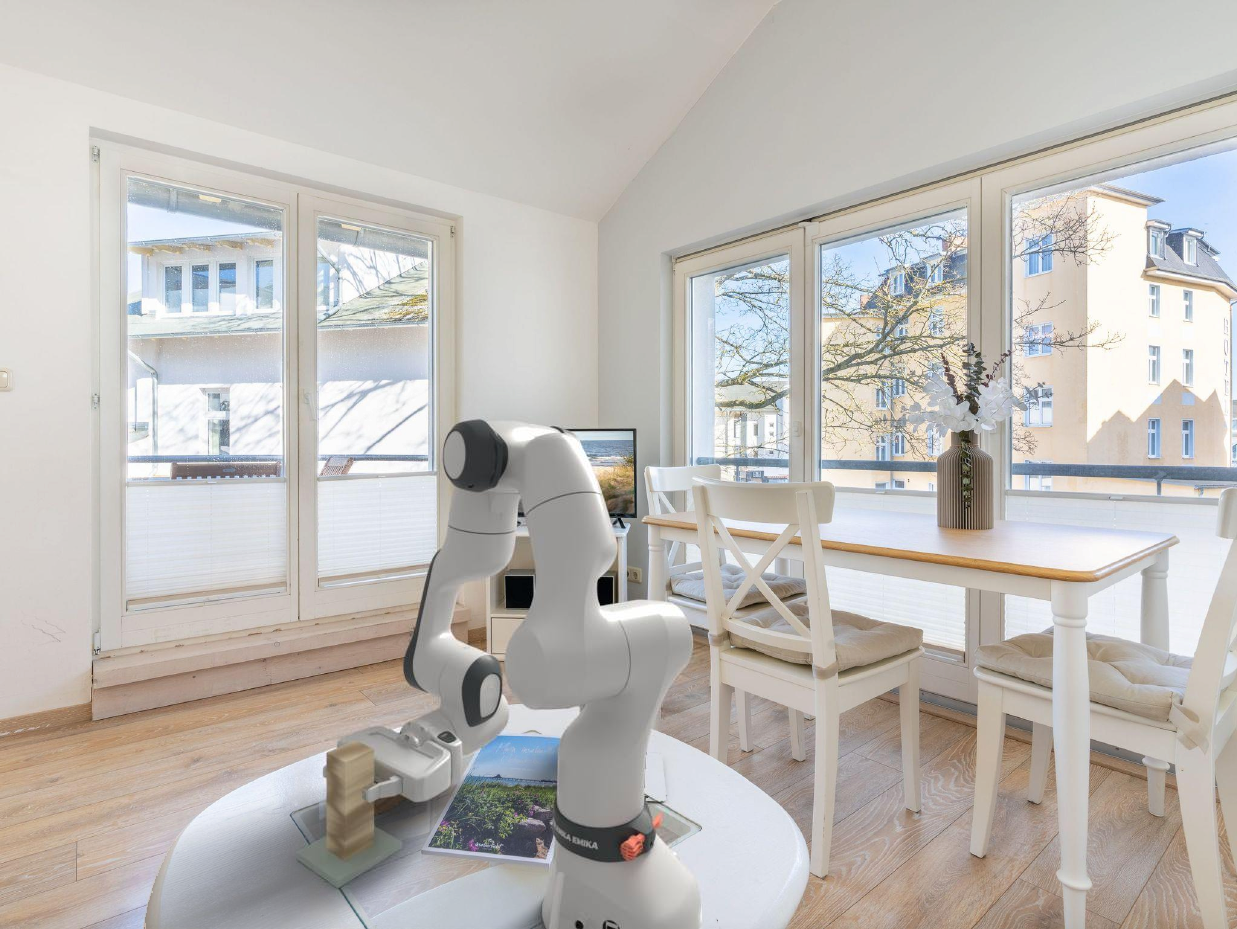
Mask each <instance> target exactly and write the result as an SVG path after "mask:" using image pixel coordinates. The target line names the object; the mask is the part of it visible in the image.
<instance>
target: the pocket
mask: <svg viewBox="0 0 1237 929" xmlns="http://www.w3.org/2000/svg"><path fill="white" fill-rule="evenodd" d="M374 783H376V784H378V783H377V782H376V781H374ZM407 799H408V798H406V797H404V796H402V795H400V794H398V795H396V796H391V797H385V798H379V799H377V800H375V801H374V816H378V815H380V814H382V813H384V812H385V811H387V810H390V809H391V808H393V807H394V806H396V805H398V804H401V803H402V802H403V801H406V800H407Z"/></svg>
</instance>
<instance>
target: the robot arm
mask: <svg viewBox="0 0 1237 929" xmlns="http://www.w3.org/2000/svg"><path fill="white" fill-rule="evenodd" d="M442 465H443V469H444V472H445V476H446V477H447V478H448V480H449V481H450V483H451V484H452V485H453V486H454V489H453V493H452V497H451V501H450V506H449V514H448V522H447V530H446V534H445V538H444V541H443V544H442V546H441V548H440V549H438V550H437V551H436V552H435V554H434V555H433V557H432V559H431V561H430V564H429V566H428V571H427V573H426V578H425V582H424V586H423V589H422V590H423V591H422V593H421V594H422V595H421V600H420V604H419V608H418V613H417V618H416V622H415V627H414V630H413V634H412V637H411V639H410V641H409V644H408V646H407V649H406V651H405V653H404V657H403V662H402V664H403V665H402V666H403V676H404V679H405V681H406V683H408V685H409V686H411V687H412V688H414V689H417V690H419V691H421V692H423V693H427V694H430V695H432V696H434V697H436V698H438V699H439V700H440V704H439V707H438V708H437V709H435V710H431V711H430V712H427V713H425V714H423V715H421V716H418V717H417V718H416V717H415V718H414V719H411V720H409V721H407V722H406V723H404V724H403V725H402V727H401V729H400V731H399V732H397V731H395V730H393V729H391V728H387V727H385V726H382V725H375V726H371V727H367V728H363V729H359V730H357V731H354V732H351V733H348V734H346V735H343V736H341V737H340V738H339V739H338V740H337V743H336V748H338V747H341V746H343V745H345V744H348V743H350V742H352V741H355V740H356V741H358V742H360V743H362V744H364V745H366V746H368V747H370V748H373V749H374V781H376V782H377V783H378V784H376V783H374V782H373V783H371V784H369V785H367V786H365V787H364V788H363V789H362V794H363V795H362V798H363V799H364V800H366V801H367V802H369V803H371V802H373V801H375V800H377V799H379V798H385V797H391V796H396V795H398V794H400V795H402V796H404V797H406V798H407V799H408V800H410V801H412V802H413V803H420V802H427V801H428V800H431V799H432V798H435V797H436V796H438V795H439V794H441V793H443V792H444V791H446V790H447V789H448V788H449V787H450V786H451V787H452V786H455V785H456V786H457V785H458V784H459V783H461V782H462V776H463V757H464V756H468V755H471V754H472V753H474V752H476V751H478V750H480V749H482V748H484V747H485V746H487V745H488V744H489V743H490V742H492V741H494V740H495V739H496V738H497V737H498V736H499V735H500V734H501V733H502V732H503V731H504V730H505V729H506V726H507V725H508V722H509V718H510V706H509V702H508V700H507V698H506V697H505V695H504V694H503V681H504V680H503V670H502V667H501V664H500V661H499V659H497V657H496V656H494V655H491V654H490V653H488V652H485V651H484V650H481V649H479V648H478V647H474V646H471V645H469V644H467V643H465V642H462V641H460V640H458V639H456V637H455V635H453V633H452V630H451V625H452V621H453V617H454V612H455V608H456V605H457V601H458V595H459V591H460V589H461V588H462V586H464V584H466V583H469V582H474V581H475V582H477V581H481V580H485V579H488V578H492V577H493V576H495V575H497V574H499V573H501V572H502V571H503V570H504V569H505V568H506V566H508V564H509V563H510V561H511V560H512V557H513V556H514V555H513V554H514V550H515V546H516V537H517V526H518V513H519V511H518V510H519V502H520V501H521V505H522V510H523V515H524V518H525V522H526V527H527V532H528V535H529V536H528V537H529V540H530V546H531V551H532V556H533V563H534V569H535V586H534V594H533V598H532V601H531V605H530V607H529V610H528V611H527V613H526V615H525V618H524V619H523V620H522V621H521V623H520V625H519V626H518V627H517V628H516V629H515V630H514V631H513V634H512V635H511V637H510V639H509V641H508V643H507V646H506V649H505V653H504V660H503V661H504V662H503V664H504V665H503V666H504V668H503V669H504V675H505V678H506V682H507V684H508V687H509V689H510V691H511V692H512V694H513V695H514V697H515V698H516V699H517V701H519V702H520V703H521V704H522V705H523V706H524V707H526V708H528V709H529V710H533V711H534V710H535V711H537V710H539V711H540V710H566V709H567V710H568V709H571V708H575V707H580V705H583V704H586V703H587V704H586V706H585V707H584V709H583V710H582V712H581V713H580V712H579V714H578V715H577V716H576V717H575V718H574V719H573V720H572V721H571V722H570V723H569V725H568V726H567V727H566V729H565V730H564V732H563V733H562V735H561V737H560V739H559V743H558V747H557V748H558V749H557V775H556V776H557V781H556V782H557V783H556V784H557V785H556V796H555V797H554V801H553V808H552V809H553V810H552V835H553V836H554V847H553V848H554V850H553V857H552V863H551V870H550V876H549V879H548V880H549V881H548V884H547V889H546V892H545V895H544V897H543V902H542V905H541V918H542V922H543V925H544V927H545V929H701V925H702V908H701V905H702V902H701V901H702V900H701V894H700V893H701V892H700V889H699V885H698V882H697V879H696V877H695V876H694V875H693V874H692V872H691V871H690V870H689V869H688V868H687V866H686V865H684V864H683V862H682V861H681V860H680V857H679V856H678V854H677V853H676V852H675V851H673V850H671V848H669V847H668V845H667V844H666V843H665V841H664V840H663V839H661V837H660V836H659V835H658V834H657V829H658V827H660V826H661V824H662V823H663V819H662V818H663V813H662V812H661V813H659V814H658V815H657V816H656V817H655V818H654V819H653V815H652V813H651V810H650V807H649V803H648V802H647V801H646V798H645V796H644V788H645V769H646V755H647V752H648V746H649V740H650V737H651V732H652V729H653V727H654V726H653V725H654V723H655V720H656V717H657V715H658V712H659V710H660V708H661V705H662V703H663V701H664V699H665V696H666V694H667V692H668V691H669V689H670V687H671V686H672V684H673V683H674V681H675V679H676V678H677V677H678V676H679V675H680V674H681V673H682V672H683V671H684V670H685V669H686V667H687V666H688V665H689V663H690V660H691V658H692V655H693V650H694V649H693V648H694V639H693V638H694V636H693V632H692V627H691V626H690V623H689V621H688V618H687V617H686V615H685V614H684V613H683V611H682V610H681V609H680V608H679V607H678V606H677V605H675V604H674V603H671V602H670V601H662V600H655V599H654V600H653V599H634V600H633V599H632V600H627V601H622V602H617V603H610V604H605V605H600V602H599V599H598V598H599V597H598V580H599V579H600V578H601V577H602V576H603V575H605V574H606V572H608V570H610V568H611V567H612V565H613V564H614V563H615V561H616V557H617V555H618V552H619V551H618V550H619V549H618V548H619V547H618V540H617V537H616V534H615V530H614V528H613V523H612V521H611V518H610V513H609V510H608V508H607V504H606V500H605V498H604V495H603V492H602V488H601V486H600V483H599V480H598V477H597V474H596V472H595V470H594V468H593V465H592V464H591V462H590V459H589V458H588V455H587V453H586V452H585V450H584V446H583V445H582V442H581V440H580V439H579V437H578V436H577V435H576V434H575V433H574V432H572V431H570V430H568V429H565V428H562V427H560V426H554V425H551V426H547V425H546V426H545V425H541V424H536V423H530V422H523V421H521V420H486V421H485V420H483V419H481V418H478V419H470V420H465V421H461V422H457V423H456V424H455V425H453V427H452V428H451V429H450V431H449V432H448V434H447V435H446V437H445V440H444V443H443V450H442ZM322 777H323V778H325V779H326V764H325V765H324V766H323V767H322Z"/></svg>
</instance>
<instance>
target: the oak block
mask: <svg viewBox="0 0 1237 929" xmlns="http://www.w3.org/2000/svg"><path fill="white" fill-rule="evenodd" d="M325 754H326V758H325V759H326V761H325V762H326V764H325V765H326V778H325V779H326V781H325V782H326V788H325V790H326V796H325V797H326V800H325V801H326V802H325V803H326V804H325V805H326V811H325V812H326V819H325V820H326V821H325V822H326V823H325V824H326V833H325V834H326V835H325V836H326V847H327V850H329V851H330V852H332V853H333V854H335V855H336V856H338V857H339V858H341V859H342V860H344V861H347V860H349V859H350V858H352V857H354V856H355V855H357V854H359V853H361V852H362V851H364V850H366V849H367V848H369V847H371V846H372V845H374V826H375V814H374V801H373V802H371V803H369V802H367V801H366V800H364V799H363V798H362V795H363V794H362V789H363V788H364V787H365V786H367V785H369V784H371V783H373V782H374V749H373V748H370V747H368V746H366V745H364V744H362V743H360V742H358V741H356V740H355V741H352V742H350V743H348V744H345V745H343V746H341V747H338V748H337V747H336V748H333V749H331V750H330V751H327V752H326V753H325Z"/></svg>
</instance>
